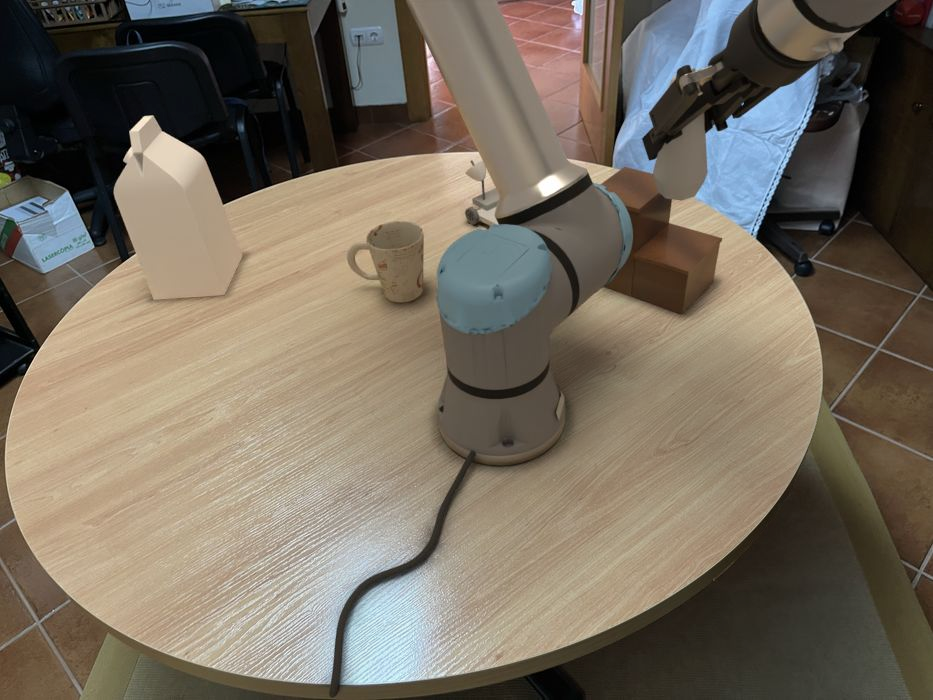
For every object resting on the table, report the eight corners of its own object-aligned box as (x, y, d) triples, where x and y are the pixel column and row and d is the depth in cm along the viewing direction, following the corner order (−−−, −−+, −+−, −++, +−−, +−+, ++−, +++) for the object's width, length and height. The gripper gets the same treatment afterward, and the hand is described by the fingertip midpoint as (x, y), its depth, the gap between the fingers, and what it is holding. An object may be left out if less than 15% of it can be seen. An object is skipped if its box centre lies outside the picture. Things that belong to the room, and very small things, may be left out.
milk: (224, 295, 109) (167, 136, 93) (153, 299, 110) (84, 143, 94) (243, 255, 119) (193, 105, 102) (177, 259, 119) (118, 111, 103)
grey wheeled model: (451, 165, 118) (502, 144, 123) (456, 216, 124) (504, 194, 129) (523, 198, 106) (575, 173, 111) (524, 252, 112) (574, 227, 118)
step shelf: (682, 315, 96) (695, 224, 87) (583, 280, 105) (586, 194, 96) (714, 281, 102) (730, 192, 93) (618, 250, 111) (624, 166, 102)
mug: (423, 309, 102) (414, 250, 96) (343, 304, 105) (330, 247, 99) (436, 278, 109) (429, 221, 102) (360, 274, 111) (349, 219, 105)
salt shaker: (673, 176, 81) (687, 62, 73) (714, 191, 78) (734, 72, 70) (640, 192, 79) (651, 76, 70) (682, 209, 75) (698, 88, 67)
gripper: (723, 82, 54) (609, 191, 77) (891, 48, 57) (733, 162, 80) (694, -5, 54) (589, 128, 77) (861, -35, 58) (713, 102, 81)
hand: (662, 145), depth 79 cm, fingers closed on salt shaker, 3 cm apart
